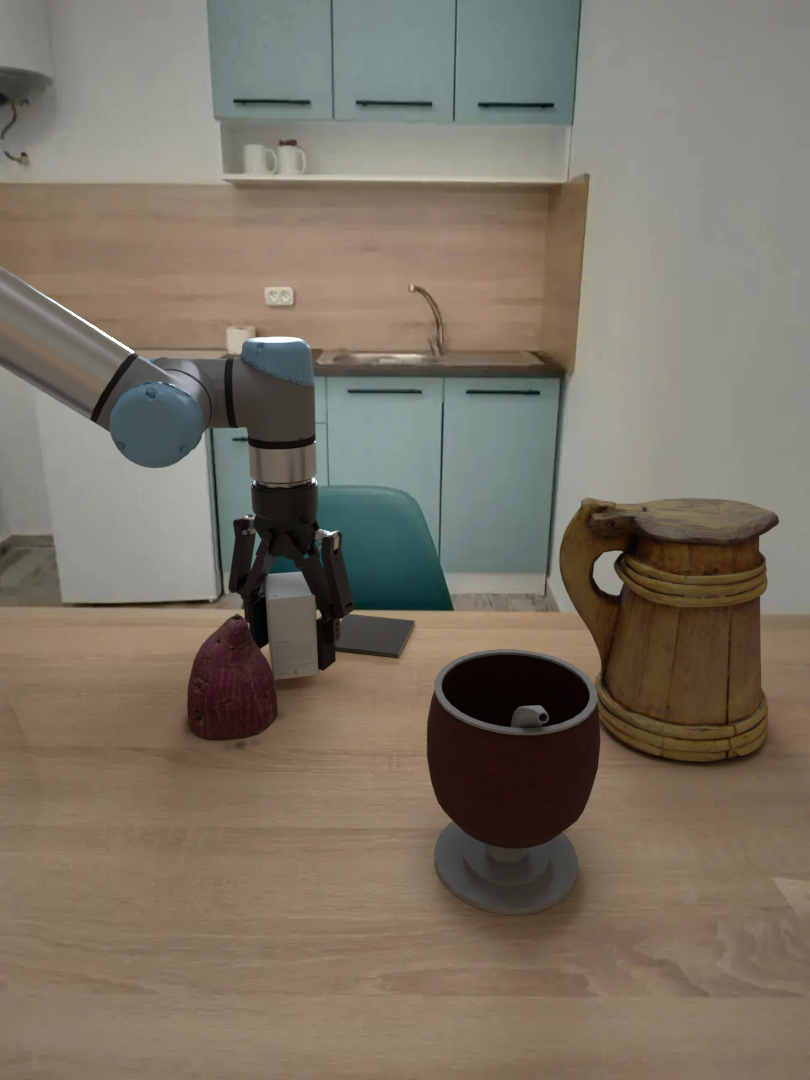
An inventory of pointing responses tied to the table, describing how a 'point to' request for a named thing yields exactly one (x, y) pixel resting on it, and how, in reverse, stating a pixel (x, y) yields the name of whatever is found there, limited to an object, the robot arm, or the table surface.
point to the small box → (291, 626)
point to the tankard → (675, 622)
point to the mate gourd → (511, 775)
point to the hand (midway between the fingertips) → (292, 655)
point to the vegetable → (230, 685)
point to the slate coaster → (373, 635)
